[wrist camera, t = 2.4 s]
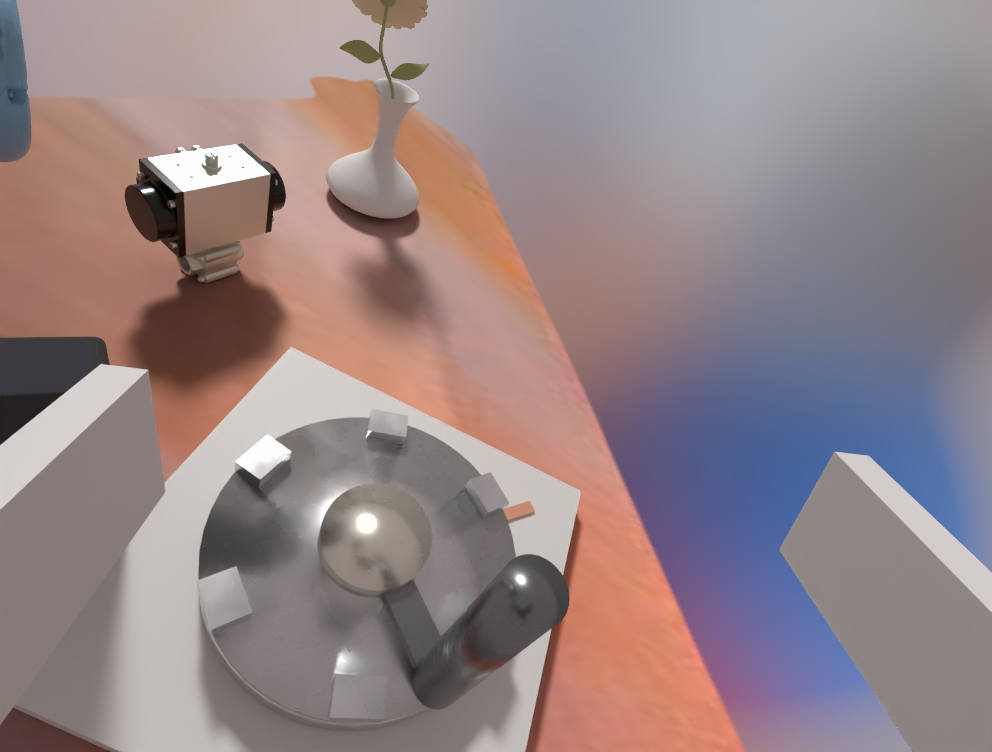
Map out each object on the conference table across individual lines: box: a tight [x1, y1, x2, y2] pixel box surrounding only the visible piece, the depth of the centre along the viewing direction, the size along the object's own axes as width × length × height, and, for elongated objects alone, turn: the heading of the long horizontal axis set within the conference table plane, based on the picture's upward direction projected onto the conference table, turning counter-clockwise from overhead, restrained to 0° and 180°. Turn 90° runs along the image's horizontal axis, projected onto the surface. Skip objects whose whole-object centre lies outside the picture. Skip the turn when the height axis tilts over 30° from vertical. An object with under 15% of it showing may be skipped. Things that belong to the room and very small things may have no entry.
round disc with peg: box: [197, 409, 569, 732], centre depth 32 cm, size 20×20×16 cm
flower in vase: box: [326, 0, 429, 219], centre depth 61 cm, size 13×11×25 cm
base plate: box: [13, 347, 581, 752], centre depth 38 cm, size 28×28×2 cm
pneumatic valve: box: [125, 144, 286, 283], centre depth 48 cm, size 6×12×12 cm, turn 142°
